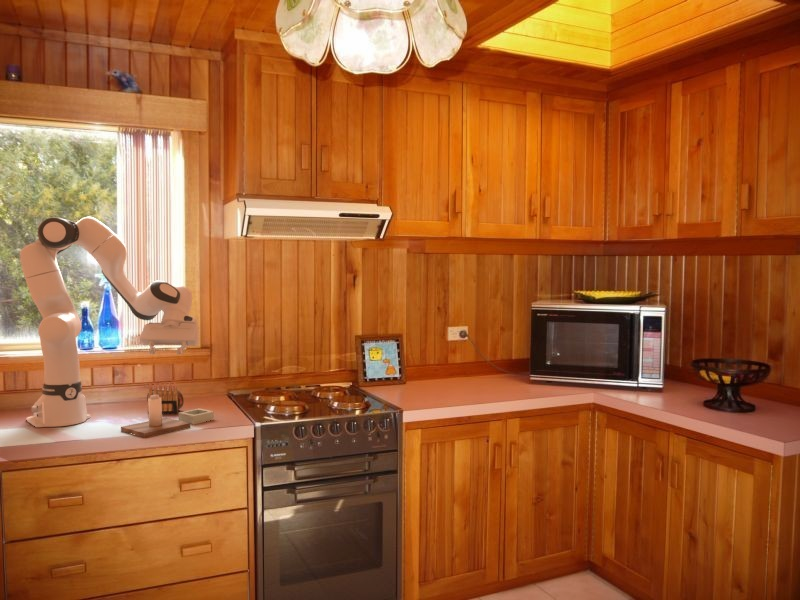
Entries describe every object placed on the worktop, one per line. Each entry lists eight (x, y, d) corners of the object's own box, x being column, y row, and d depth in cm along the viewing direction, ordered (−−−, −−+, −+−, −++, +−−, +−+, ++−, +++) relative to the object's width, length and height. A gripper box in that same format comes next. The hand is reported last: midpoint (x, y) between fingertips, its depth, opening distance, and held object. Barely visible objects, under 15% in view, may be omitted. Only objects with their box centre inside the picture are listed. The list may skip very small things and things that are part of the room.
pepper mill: (146, 425, 218) (145, 395, 217) (157, 422, 221) (156, 393, 221) (153, 427, 216) (152, 397, 215) (164, 424, 219) (163, 395, 218)
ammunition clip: (178, 413, 243) (178, 381, 243) (177, 414, 242) (176, 382, 241) (149, 413, 242) (148, 381, 242) (147, 414, 241) (147, 382, 240)
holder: (178, 420, 230) (178, 412, 230) (199, 416, 237) (199, 408, 237) (193, 424, 225) (193, 415, 225) (214, 419, 232) (213, 411, 232)
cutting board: (121, 431, 216) (120, 426, 216) (166, 421, 230) (166, 417, 230) (144, 437, 208) (144, 433, 208) (190, 427, 221) (190, 423, 221)
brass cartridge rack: (184, 410, 247) (184, 388, 247) (179, 412, 244) (178, 390, 244) (151, 408, 252) (150, 386, 252) (145, 409, 249) (145, 388, 249)
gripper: (143, 317, 236) (133, 346, 227) (200, 318, 237) (192, 347, 228) (147, 328, 241) (137, 357, 231) (203, 329, 242) (195, 358, 232)
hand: (165, 352), depth 230 cm, fingers open, 8 cm apart
